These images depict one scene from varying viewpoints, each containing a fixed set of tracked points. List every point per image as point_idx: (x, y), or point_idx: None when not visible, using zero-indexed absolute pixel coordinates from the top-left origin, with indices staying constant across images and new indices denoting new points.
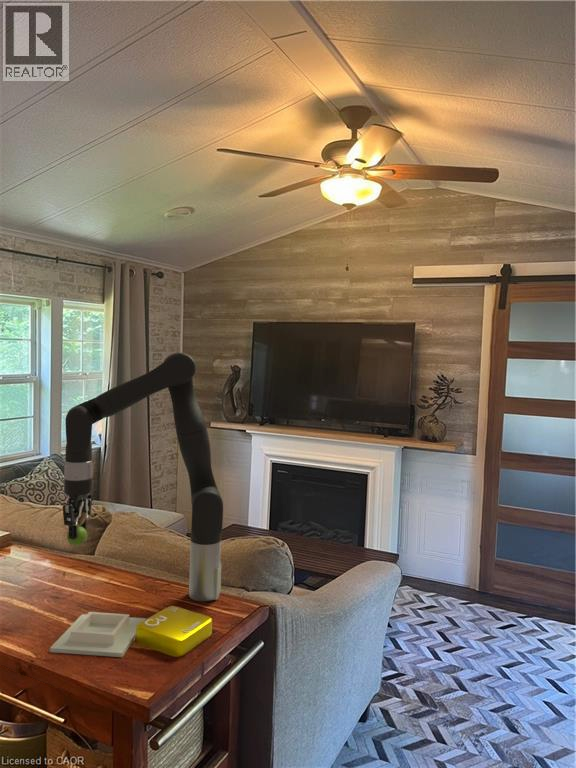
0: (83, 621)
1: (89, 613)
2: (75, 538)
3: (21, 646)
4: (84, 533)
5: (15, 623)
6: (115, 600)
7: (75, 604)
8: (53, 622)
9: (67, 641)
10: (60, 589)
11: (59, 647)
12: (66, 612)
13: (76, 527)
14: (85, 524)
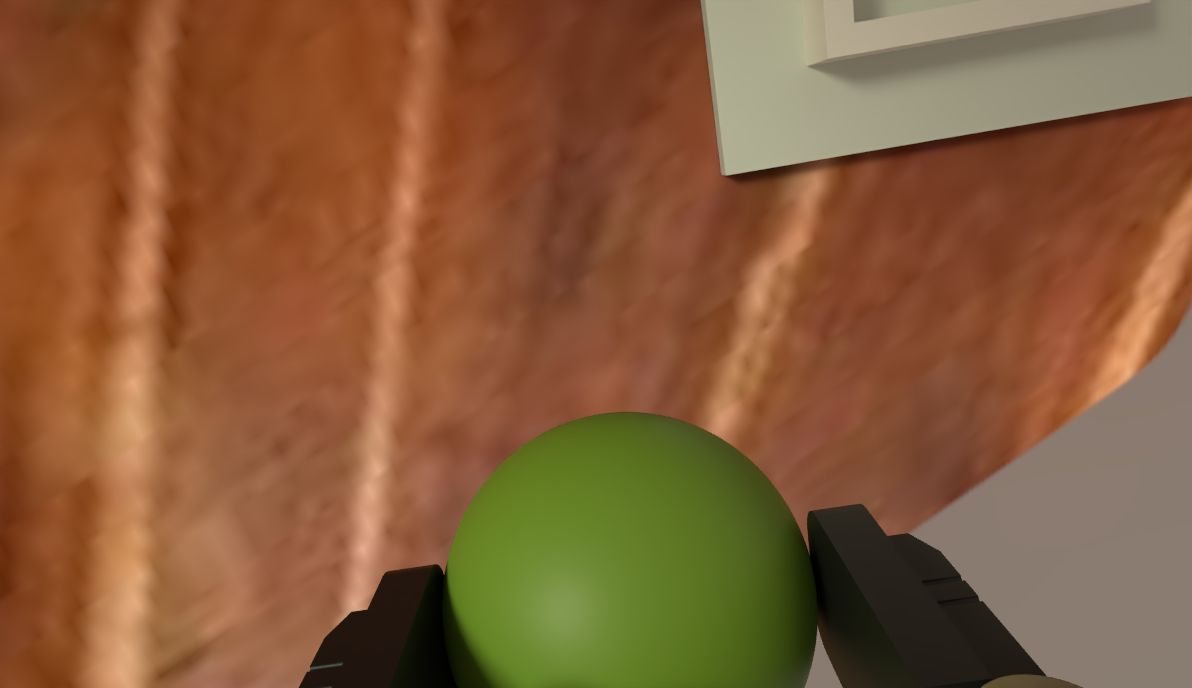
0: (985, 6)
1: (854, 40)
2: (862, 508)
3: (1124, 300)
4: (651, 472)
5: (880, 503)
6: (409, 98)
7: (560, 330)
8: (822, 310)
9: (1099, 37)
10: (399, 547)
11: (1181, 39)
12: (679, 316)
13: (961, 648)
14: (394, 671)
